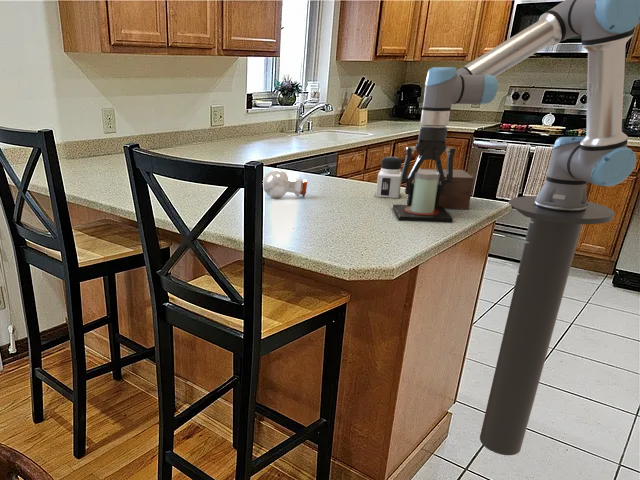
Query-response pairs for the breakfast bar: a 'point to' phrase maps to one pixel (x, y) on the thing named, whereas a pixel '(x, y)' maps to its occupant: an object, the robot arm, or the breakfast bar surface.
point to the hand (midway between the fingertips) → (422, 205)
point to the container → (389, 178)
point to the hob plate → (422, 214)
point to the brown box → (456, 190)
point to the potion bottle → (283, 184)
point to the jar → (424, 191)
